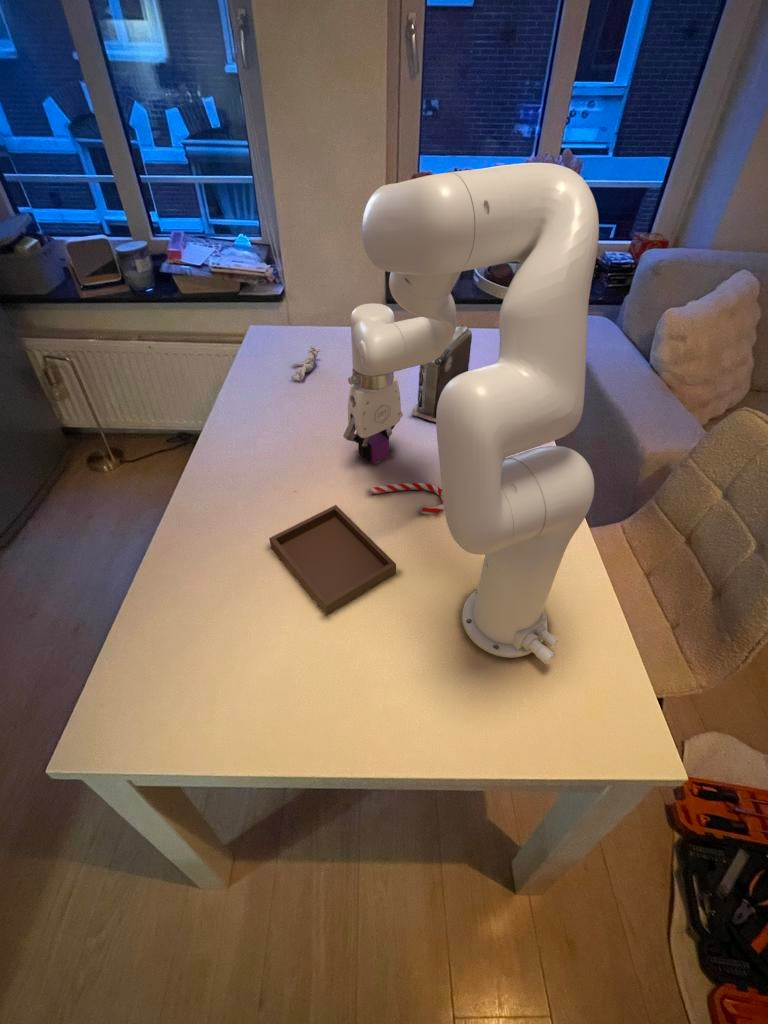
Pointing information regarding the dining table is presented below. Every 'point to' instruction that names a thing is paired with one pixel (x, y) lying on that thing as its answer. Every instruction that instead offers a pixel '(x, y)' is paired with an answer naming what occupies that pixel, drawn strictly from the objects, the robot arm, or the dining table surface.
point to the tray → (332, 558)
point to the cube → (378, 447)
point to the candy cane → (411, 487)
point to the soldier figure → (306, 363)
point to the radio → (442, 373)
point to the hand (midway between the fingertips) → (374, 453)
